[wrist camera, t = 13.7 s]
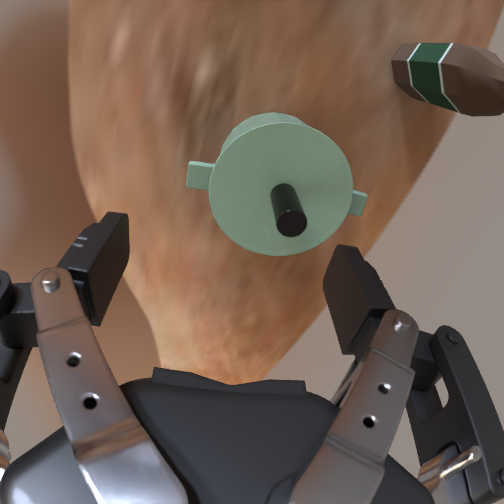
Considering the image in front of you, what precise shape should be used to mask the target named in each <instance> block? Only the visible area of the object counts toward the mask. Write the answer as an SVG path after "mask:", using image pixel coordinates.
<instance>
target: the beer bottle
mask: <svg viewBox="0 0 504 504" xmlns="http://www.w3.org/2000/svg"><path fill="white" fill-rule="evenodd" d="M391 62H392V67H393V73H394V79H395V83H396V84H398V85H399V86H400V87H401V88H402V89H403V90H404V91H405V92H406V93H407V94H408V95H409V96H410V97H412V98H415V99H417V100H421V101H424V102H427V103H431V104H434V105H437V106H440V107H443V108H446V109H449V110H452V111H455V112H458V113H461V114H465V115H469V116H496V115H501V114H502V113H504V63H503V62H502V61H501V60H500V59H499V58H498V56H497V55H496V54H494V53H492V52H491V51H489V50H488V49H486V48H482V47H476V46H470V45H462V44H454V43H417V44H405V45H402V46H401V48H400V49H399V50H398V52H397V53H396V55H395V56H394V58H393V59H392V60H391Z"/></svg>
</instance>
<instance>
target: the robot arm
mask: <svg viewBox="0 0 504 504" xmlns="http://www.w3.org/2000/svg"><path fill="white" fill-rule="evenodd" d="M129 253H130V245H129V218H128V215H127V214H125V213H117V212H107V213H106V215H105V216H104V217H103V219H102V220H101V221H100V222H99V223H93V224H91V225H90V226H88V227H87V228H85V229H84V230H83V231H82V232H81V234H80V235H79V236H78V239H76V240H75V241H74V243H73V246H71V247H70V248H69V250H68V251H67V252H66V254H65V255H64V256H63V258H62V259H61V260H60V262H59V263H58V265H57V266H56V267H50V268H46V269H44V270H41V271H40V272H38V273H37V274H36V275H35V276H34V277H33V279H32V281H31V283H17V284H12V282H11V279H10V276H9V274H8V273H6V272H5V271H1V270H0V504H492V503H494V502H497V501H498V500H501V499H503V498H504V431H503V428H502V425H501V423H500V420H499V417H498V414H497V412H496V409H495V407H494V404H493V402H492V399H491V397H490V394H489V392H488V389H487V387H486V385H485V383H484V380H483V378H482V376H481V374H480V371H479V369H478V367H477V365H476V363H475V361H474V359H473V357H472V355H471V352H470V350H469V348H468V346H467V344H466V342H465V340H464V339H463V337H462V336H461V334H460V333H459V332H458V331H456V330H455V329H453V328H452V327H450V326H446V325H443V326H440V327H439V328H438V329H437V331H436V332H435V333H434V335H433V334H430V333H426V332H423V331H420V330H419V328H418V325H417V323H416V321H415V320H414V319H413V318H412V317H411V316H410V315H409V314H407V313H405V312H403V311H401V310H398V309H396V308H395V306H394V304H393V302H392V300H391V299H390V296H389V295H388V292H387V290H386V289H385V287H384V286H383V283H382V281H381V280H380V277H379V276H378V274H377V272H376V270H375V269H374V268H373V267H372V266H371V265H370V264H369V263H368V262H367V261H364V259H363V257H362V255H361V253H360V251H359V250H358V248H357V247H353V246H347V245H341V244H339V245H337V246H336V248H335V250H334V253H333V255H332V258H331V260H330V263H329V265H328V268H327V270H326V273H325V276H324V279H323V291H324V294H325V298H326V301H327V304H328V307H329V310H330V314H331V317H332V320H333V324H334V327H335V330H336V334H337V337H338V341H339V344H340V348H341V351H342V354H343V355H355V360H354V361H353V363H352V364H351V366H350V368H349V370H348V372H347V373H346V375H345V377H344V379H343V381H342V382H341V384H340V386H339V388H338V389H337V391H336V393H335V394H334V396H333V398H332V399H331V401H328V400H327V399H325V398H323V397H321V396H319V395H316V394H313V393H311V392H307V391H306V386H305V381H298V380H263V381H257V382H251V383H245V384H238V385H228V384H224V383H221V382H218V381H215V380H212V379H209V378H206V377H203V376H200V375H197V374H194V373H192V372H184V371H177V370H170V369H164V368H157V367H154V370H153V375H152V378H143V379H137V380H134V381H130V382H127V383H125V384H122V385H120V386H119V385H118V383H117V381H116V379H115V377H114V376H113V373H112V371H111V369H110V367H109V365H108V363H107V361H106V359H105V357H104V355H103V352H102V350H101V348H100V345H99V343H98V341H97V339H96V336H95V334H94V332H93V329H92V327H91V325H94V326H99V327H100V325H101V323H102V320H103V318H104V315H105V313H106V310H107V308H108V306H109V304H110V301H111V299H112V297H113V294H114V292H115V290H116V287H117V285H118V283H119V281H120V279H121V277H122V274H123V272H124V270H125V268H126V266H127V263H128V260H129ZM32 347H39V351H40V354H41V358H42V362H43V365H44V370H45V373H46V376H47V380H48V383H49V386H50V389H51V392H52V396H53V398H54V401H55V404H56V407H57V410H58V413H59V415H60V418H61V421H62V423H63V426H62V427H61V428H60V429H58V430H57V431H56V432H54V433H53V434H51V435H50V436H49V437H47V438H46V439H45V440H43V441H42V442H40V443H39V444H37V445H36V446H35V447H33V448H32V449H30V450H29V451H27V452H26V453H25V454H23V455H22V456H20V457H19V458H17V459H16V460H15V461H13V462H12V463H11V464H10V463H9V461H10V458H11V455H10V452H9V443H8V439H7V437H6V435H5V433H4V429H5V425H6V421H7V418H8V414H9V411H10V407H11V405H12V401H13V398H14V395H15V392H16V389H17V386H18V384H19V381H20V378H21V375H22V373H23V370H24V367H25V365H26V362H27V360H28V357H29V355H30V352H31V350H32ZM441 377H443V379H444V382H445V385H446V388H447V390H448V394H449V399H448V402H447V404H446V406H445V407H444V408H443V407H442V404H441V401H440V398H439V395H438V392H437V389H436V386H435V384H436V383H437V382H438V380H439V379H440V378H441ZM405 406H406V409H407V413H408V417H409V420H410V424H411V428H412V432H413V436H414V440H415V445H416V448H417V453H418V457H419V462H420V467H421V468H420V470H419V475H418V478H415V477H414V476H413V475H412V474H410V473H409V472H408V471H407V470H406V469H405V468H404V467H402V466H401V465H400V464H399V463H398V462H397V461H396V460H394V459H393V458H392V457H391V456H390V455H389V454H388V451H389V449H390V447H391V444H392V441H393V439H394V436H395V434H396V431H397V428H398V426H399V423H400V420H401V417H402V414H403V411H404V408H405Z"/></svg>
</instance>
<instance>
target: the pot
mask: <svg viewBox="0 0 504 504" xmlns="http://www.w3.org/2000/svg"><path fill="white" fill-rule="evenodd" d="M273 122H293V123H300V124H303V125H307V124H305V123H304V122H303V121H301V120H299V119H298V118H297V117H295V116H291V115H287V114H283V113H276V112H271V113H262V114H258V115H255V116H251V117H250V118H248V119H246V120H244V121H243V122H241V123H240V124H239V125H238V126H236V127H235V128H234V129H233V130H232V132H231V133H230V134H229V136H228V137H227V139H226V141H225V143H224V144H223V146H222V150H221V153H222V152H223V150H224V149H225V148H226V147H227V146H228V145H229V144H230V143H231V142H232V141H233V140H234V139H235V138H237V137H238V136H239V135H241V134H242V133H244V132H246V131H248V130H249V129H252V128H254V127H257V126H259V125H263V124H267V123H273ZM307 126H308V125H307ZM214 165H215V164H210V163H202V162H195V161H190V162H189V164H188V173H187V182H186V187H188V188H195V189H203V190H209V182H210V178H211V173H212V170H213V168H214ZM367 198H368V196H367V195H366V193H364V192H360V191H356V190H353V196H352V202H351V205H350V208H349V211H348V213H347V214H352V215H357V216H361V215H362V212H363V209H364V207H365V204H366V201H367Z"/></svg>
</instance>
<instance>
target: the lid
mask: <svg viewBox="0 0 504 504" xmlns="http://www.w3.org/2000/svg"><path fill="white" fill-rule="evenodd" d="M352 196H353V178H352V172H351V169H350V165H349V163H348V161H347V159H346V157H345V155H344V154H343V152H342V151H341V149H340V148H339V147H338V146H337V145H336V144H335V143H334V142H333V141H332V140H331V139H330V138H329V137H328V136H326V135H325V134H323V133H322V132H320V131H318V130H316V129H314V128H312V127H310V126H307V125H303V124H300V123H293V122H273V123H267V124H263V125H259V126H257V127H254V128H252V129H249V130H248V131H246V132H244V133H242V134H241V135H239V136H238V137H237V138H235V139H234V140H233V141H232V142H231V143H230V144H229V145H228V146H227V147H226V148H225V149H224V150H223V152H222V153H221V154H220V156H219V157H218V159H217V161H216V163H215V165H214V168H213V170H212V173H211V178H210V182H209V202H210V206H211V210H212V213H213V216H214V218H215V220H216V222H217V223H218V225H219V227H220V228H221V229H222V231H223V232H224V233H225V234H226V235H227V236H228V237H229V238H230V239H231V240H233V241H234V242H235V243H236V244H238V245H240V246H241V247H243V248H245V249H247V250H250V251H252V252H255V253H259V254H263V255H269V256H287V255H294V254H298V253H302V252H304V251H307V250H310V249H312V248H314V247H316V246H318V245H319V244H321V243H322V242H324V241H325V240H326V239H328V238H329V237H330V236H331V235H332V234H333V233H334V232H335V231H336V230H337V229H338V228H339V226H340V225H341V224H342V222H343V221H344V219H345V217H346V215H347V213H348V211H349V208H350V205H351V202H352Z"/></svg>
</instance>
